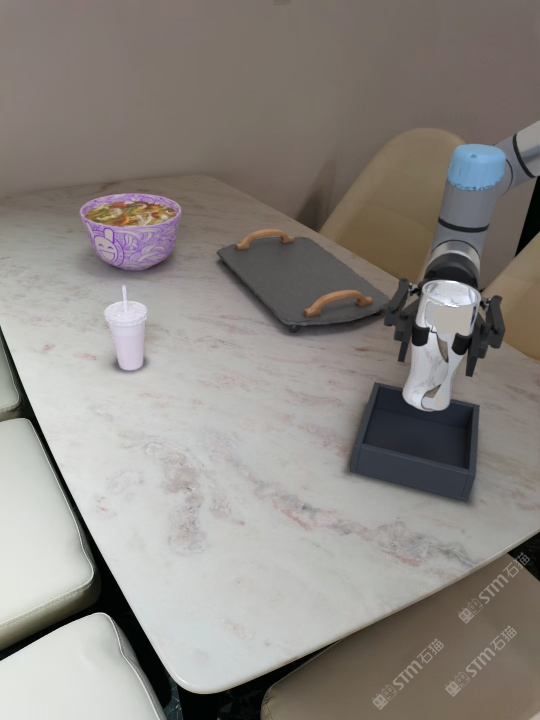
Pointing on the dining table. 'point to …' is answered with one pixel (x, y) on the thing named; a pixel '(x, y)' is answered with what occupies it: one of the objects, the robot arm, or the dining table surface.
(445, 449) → the slate grey square tray
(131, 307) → the smoothie
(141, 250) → the bowl of food
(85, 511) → the dining table surface
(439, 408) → the beer glass
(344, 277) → the serving tray
